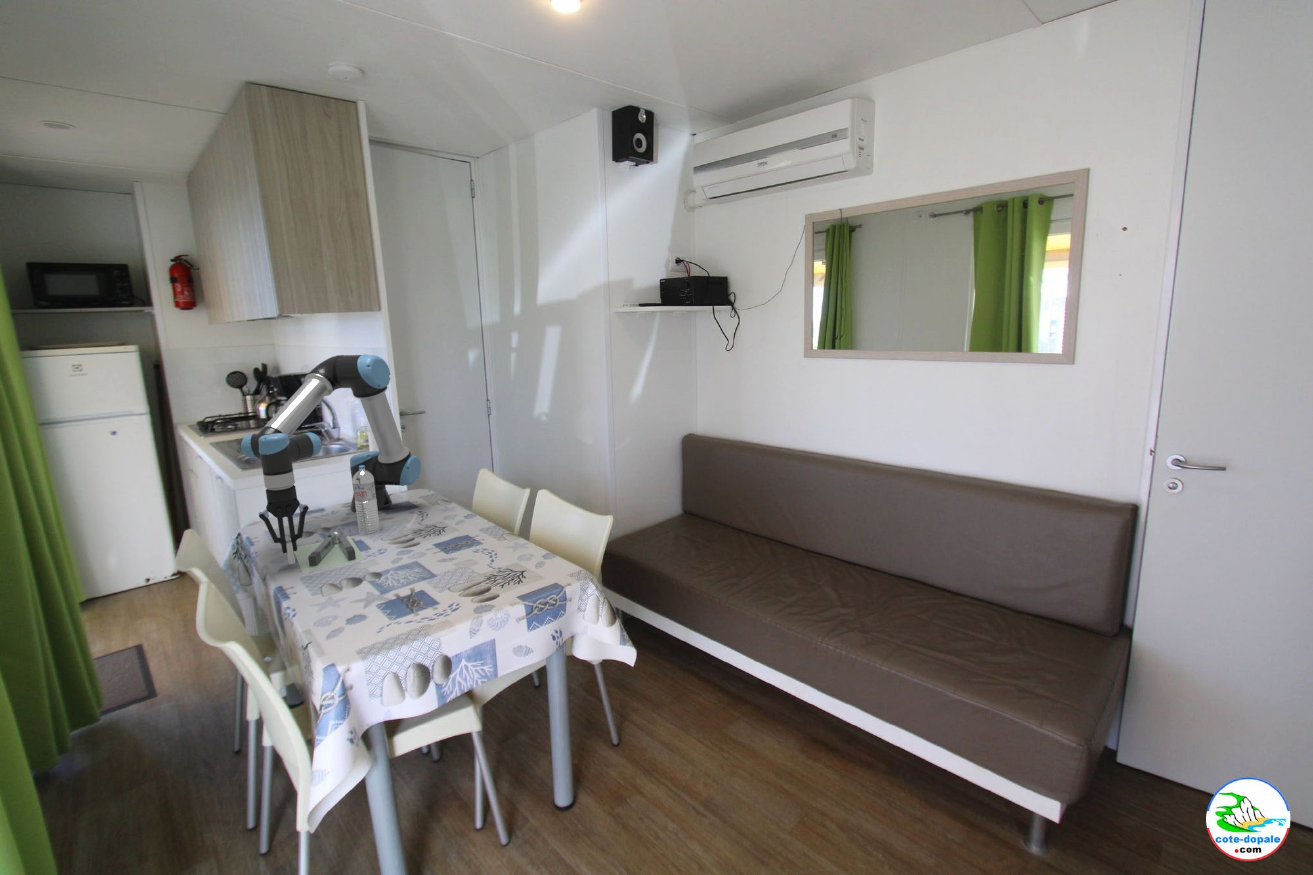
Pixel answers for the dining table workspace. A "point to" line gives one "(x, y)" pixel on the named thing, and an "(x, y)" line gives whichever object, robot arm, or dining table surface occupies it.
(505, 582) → the dining table surface
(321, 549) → the bar
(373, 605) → the dining table surface
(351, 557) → the tongs fixed
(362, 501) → the water bottle
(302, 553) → the board
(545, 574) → the dining table surface
